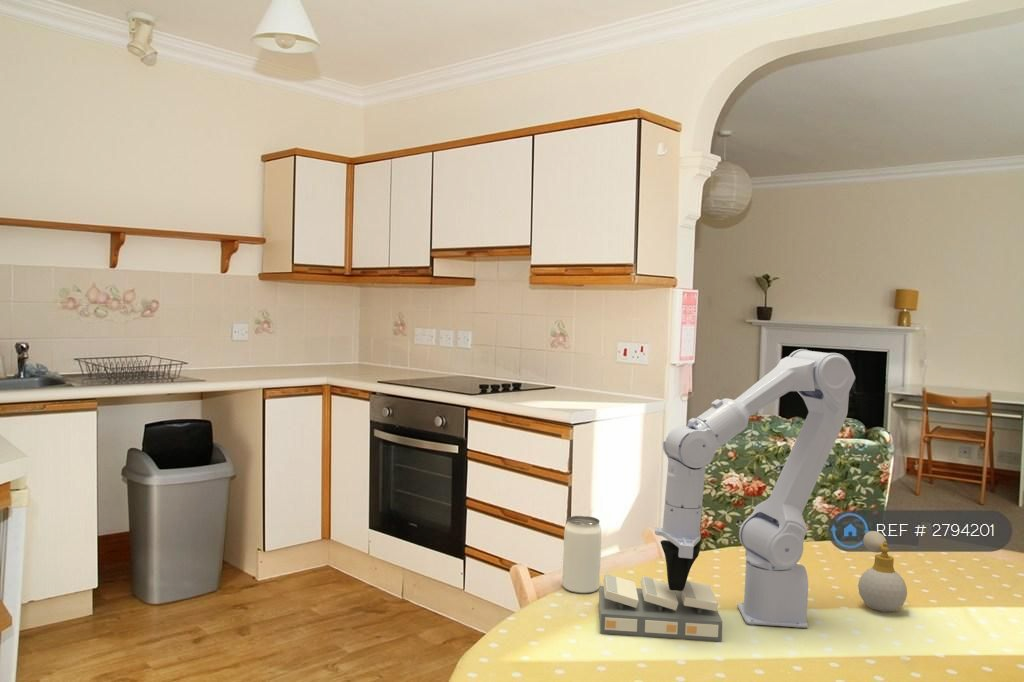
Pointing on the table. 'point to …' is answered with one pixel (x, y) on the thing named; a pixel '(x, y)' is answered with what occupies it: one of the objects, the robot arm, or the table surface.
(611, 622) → the switch box
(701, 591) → the rocker
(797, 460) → the robot arm
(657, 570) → the table surface
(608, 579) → the rocker
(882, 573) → the perfume bottle
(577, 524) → the can
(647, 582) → the rocker mid
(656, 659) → the table surface
